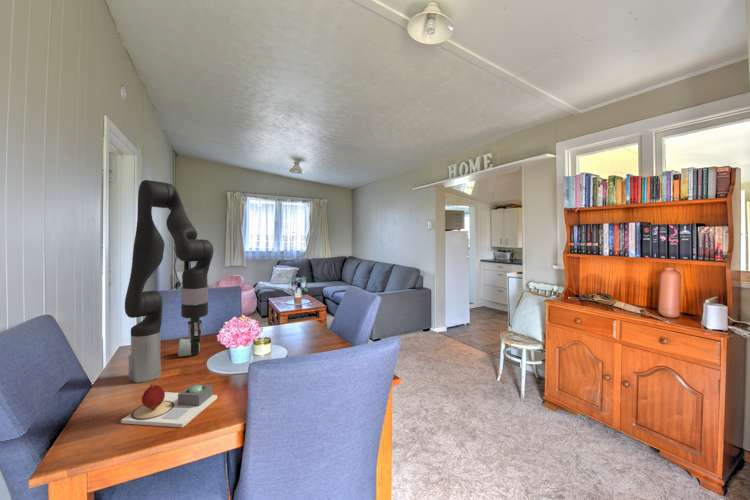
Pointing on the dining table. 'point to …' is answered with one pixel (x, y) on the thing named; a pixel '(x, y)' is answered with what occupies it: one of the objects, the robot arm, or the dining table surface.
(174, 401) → the picture board
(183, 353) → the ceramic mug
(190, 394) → the button housing
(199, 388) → the button
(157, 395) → the onion
